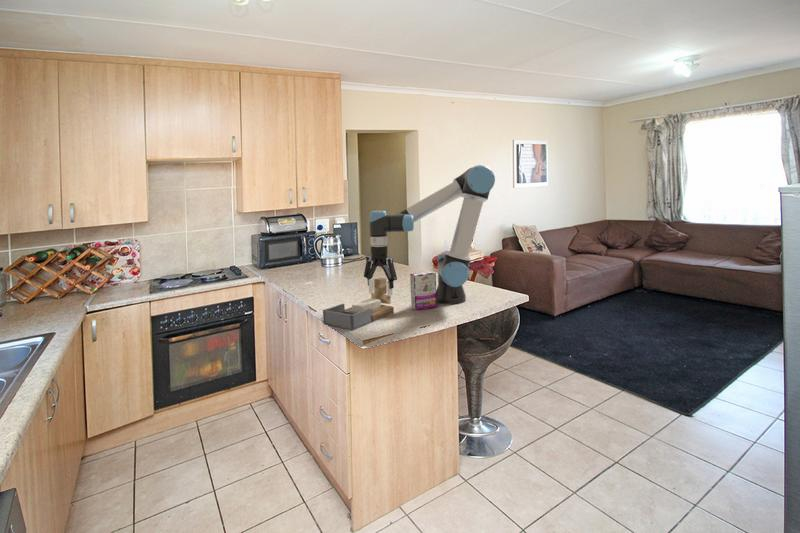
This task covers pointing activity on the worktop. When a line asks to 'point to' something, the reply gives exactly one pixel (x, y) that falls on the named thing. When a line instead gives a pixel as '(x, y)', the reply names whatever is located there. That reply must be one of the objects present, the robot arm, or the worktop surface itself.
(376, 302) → the tile
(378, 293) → the scraper
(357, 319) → the tray
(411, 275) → the candy bar box
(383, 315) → the board
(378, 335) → the worktop surface
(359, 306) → the tile
